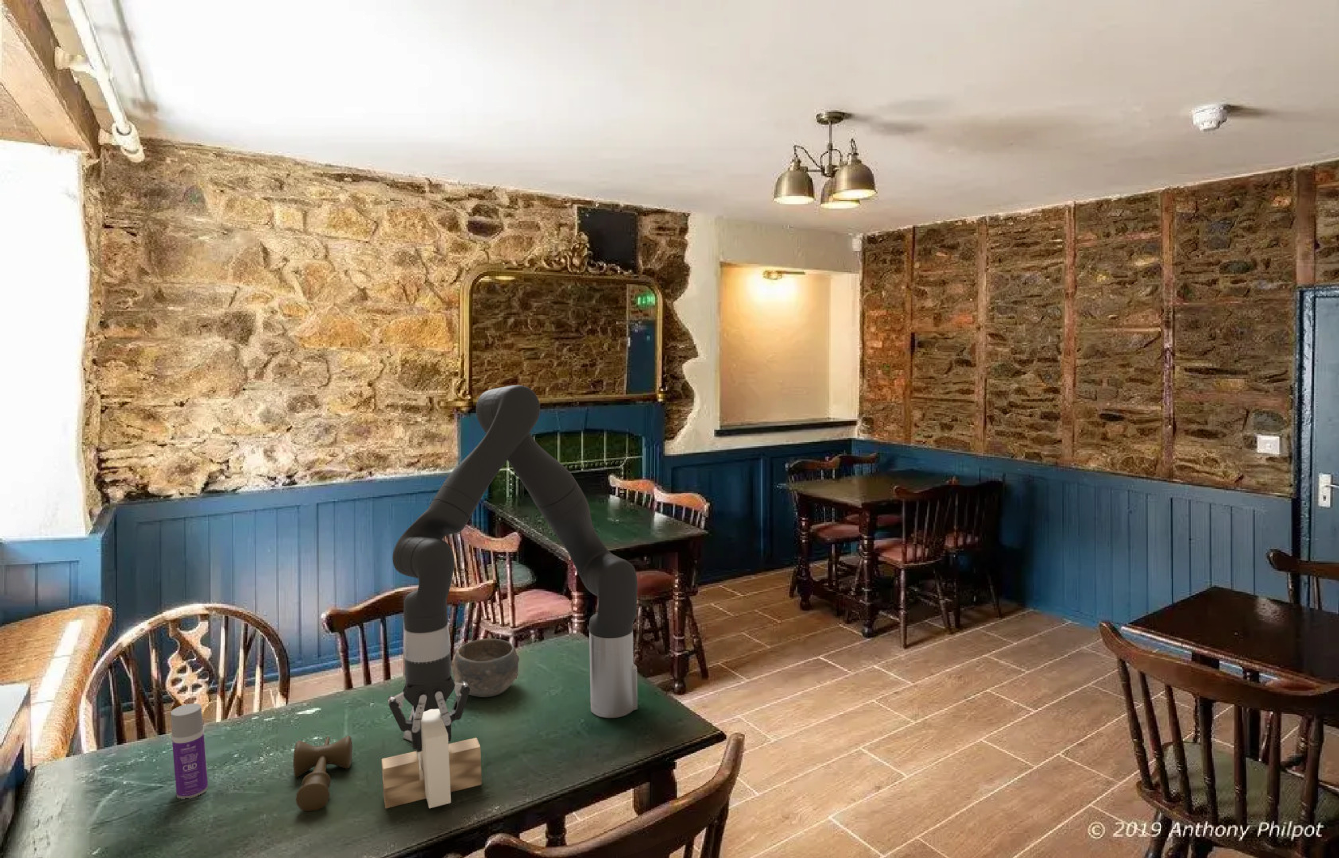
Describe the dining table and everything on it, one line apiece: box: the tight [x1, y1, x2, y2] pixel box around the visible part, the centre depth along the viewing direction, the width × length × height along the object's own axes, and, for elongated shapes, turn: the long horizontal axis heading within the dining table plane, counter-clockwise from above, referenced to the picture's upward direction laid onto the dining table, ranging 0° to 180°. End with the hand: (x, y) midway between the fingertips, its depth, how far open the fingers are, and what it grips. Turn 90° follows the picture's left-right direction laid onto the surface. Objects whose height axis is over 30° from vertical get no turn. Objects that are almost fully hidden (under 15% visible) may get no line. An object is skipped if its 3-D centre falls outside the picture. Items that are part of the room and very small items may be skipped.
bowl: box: [451, 638, 520, 698], centre depth 169 cm, size 14×15×10 cm
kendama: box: [292, 735, 353, 812], centre depth 134 cm, size 6×10×20 cm
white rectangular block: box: [416, 709, 452, 809], centre depth 130 cm, size 14×4×12 cm, turn 26°
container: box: [170, 703, 209, 800], centre depth 131 cm, size 5×5×15 cm
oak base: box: [381, 737, 482, 809], centre depth 131 cm, size 16×4×7 cm, turn 115°
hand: (431, 746), depth 130 cm, fingers open, 3 cm apart
